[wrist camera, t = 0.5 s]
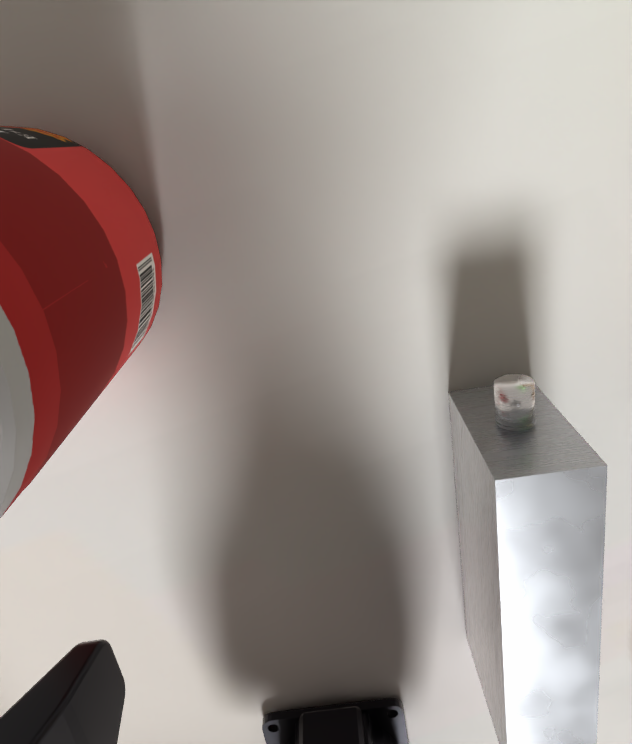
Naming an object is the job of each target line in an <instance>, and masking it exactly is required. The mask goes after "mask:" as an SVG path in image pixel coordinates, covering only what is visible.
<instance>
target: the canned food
mask: <svg viewBox="0 0 632 744" xmlns="http://www.w3.org/2000/svg"><path fill="white" fill-rule="evenodd" d="M161 288H162V272H161V258H160V254H159V249H158V245H157V241H156V236H155V233H154V231H153V228H152V226H151V224H150V221H149V219H148V217H147V214H146V212H145V210H144V208H143V207H142V205H141V204H140V202H139V201H138V199H137V198H136V196H135V195H134V193H133V191H132V190H131V189H130V187H129V186H128V185H127V184H126V183H125V182H124V181H123V180H122V179H121V178H120V176H119V175H118V174H117V173H116V172H115V171H114V170H113V169H112V168H111V167H110V166H109V165H108V164H106V163H105V162H104V161H102V160H101V159H100V158H99V157H97V156H96V155H95V154H93V153H92V152H91V151H90V150H88V149H86V148H84V147H82V146H81V145H79V144H77V143H75V142H73V141H71V140H69V139H67V138H65V137H63V136H60V135H57V134H53V133H50V132H47V131H43V130H40V129H35V128H23V127H12V126H0V518H1V517H2V516H3V515H4V513H5V512H6V511H7V510H8V508H9V507H10V506H11V505H12V503H13V502H14V501H15V500H16V498H17V497H18V496H19V495H20V493H21V492H22V491H23V490H24V489H25V488H26V487H27V486H28V485H29V484H30V483H31V481H32V480H33V479H34V478H35V476H36V475H37V474H38V473H39V471H40V470H41V469H42V467H43V466H44V465H45V464H46V462H47V461H48V460H49V459H50V457H51V456H52V455H53V454H54V452H55V451H56V450H57V448H58V447H59V446H60V445H61V443H62V442H63V441H64V440H65V438H66V437H67V436H68V434H69V433H70V432H71V431H72V429H73V428H74V427H75V426H76V424H77V423H78V422H79V421H80V419H81V418H82V417H83V415H84V414H85V413H86V412H87V410H88V409H89V408H90V407H91V405H92V404H93V403H94V401H95V400H96V399H97V398H98V396H99V395H100V394H101V393H102V391H103V390H104V389H105V388H106V386H107V385H108V384H109V382H110V381H111V380H112V379H113V377H114V376H115V375H116V374H117V372H118V371H119V370H120V368H121V367H122V366H123V365H124V363H125V362H126V361H127V360H128V358H129V357H130V356H131V355H132V353H133V352H134V351H135V349H136V348H137V347H138V346H139V344H140V343H141V341H142V340H143V338H144V337H145V335H146V334H147V332H148V331H149V329H150V328H151V325H152V323H153V320H154V317H155V315H156V312H157V310H158V307H159V300H160V294H161Z"/></svg>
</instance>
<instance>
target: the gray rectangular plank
mask: <svg viewBox="0 0 632 744" xmlns="http://www.w3.org/2000/svg"><path fill="white" fill-rule="evenodd" d="M448 396H449V409H450V422H451V436H452V449H453V462H454V475H455V488H456V502H457V515H458V528H459V541H460V554H461V568H462V581H463V594H464V607H465V621H466V634H467V641H468V644H469V647H470V650H471V654H472V657H473V660H474V663H475V667H476V670H477V673H478V676H479V679H480V683H481V686H482V689H483V692H484V696H485V699H486V702H487V705H488V709H489V712H490V715H491V718H492V722H493V725H494V728H495V731H496V735H497V738H498V741H499V744H597V721H598V695H599V669H600V643H601V617H602V590H603V564H604V538H605V512H606V486H607V464H606V463H605V462H604V461H603V460H602V459H601V458H600V457H599V455H598V454H597V453H596V452H595V451H594V450H593V449H592V448H591V447H590V445H589V444H588V443H587V442H586V441H585V440H584V439H583V438H582V436H581V435H580V434H579V433H578V432H577V431H576V430H575V429H574V427H573V426H572V425H571V424H570V423H569V422H568V421H567V420H566V418H565V417H564V416H563V415H562V414H561V413H560V412H559V411H558V409H557V408H556V407H555V406H554V405H553V404H552V403H551V402H550V400H549V399H548V398H547V397H546V396H545V395H544V394H543V393H542V391H541V390H540V389H539V388H538V387H537V386H536V385H535V381H534V379H533V378H531V377H529V376H526V375H521V374H509V375H503V376H500V377H498V378H496V379H495V380H494V385H493V386H486V387H479V388H472V389H465V390H458V391H451V392H448Z"/></svg>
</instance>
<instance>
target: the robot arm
mask: <svg viewBox="0 0 632 744" xmlns="http://www.w3.org/2000/svg"><path fill="white" fill-rule="evenodd" d="M124 699H125V683H124V678H123V676H122V673H121V670H120V668H119V665H118V663H117V660H116V658H115V655H114V653H113V650H112V648H111V646H110V644H109V643H108V642H107V641H106V640H95V641H88V642H82V643H79V644H78V645H76V646H75V647H74V648H73V649H72V650H71V651H70V652H69V653H67V654H66V655H65V656H64V657H63V658H62V659H61V660H60V661H59V662H58V663H57V664H56V665H55V666H54V667H53V668H52V669H51V670H50V671H49V672H48V673H47V674H46V675H45V676H43V677H42V678H41V679H40V680H39V681H38V682H37V683H36V684H35V685H34V686H33V687H32V688H31V689H30V690H29V691H28V692H27V693H26V694H25V695H24V696H23V697H22V698H21V699H19V700H18V701H17V702H16V703H15V704H14V705H13V706H12V707H11V708H10V709H9V710H8V711H7V712H6V713H5V714H4V715H3V716H2V717H1V718H0V744H117V741H118V735H119V729H120V723H121V717H122V711H123V705H124ZM263 733H264V737H265V740H266V744H408V738H407V731H406V725H405V718H404V711H403V705H402V702H401V701H400V700H398V699H395V698H388V699H380V700H372V701H363V702H355V703H347V704H339V705H331V706H322V707H314V708H306V709H298V710H290V711H282V712H273V713H269V714H267V715H265V716H264V718H263Z"/></svg>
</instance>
